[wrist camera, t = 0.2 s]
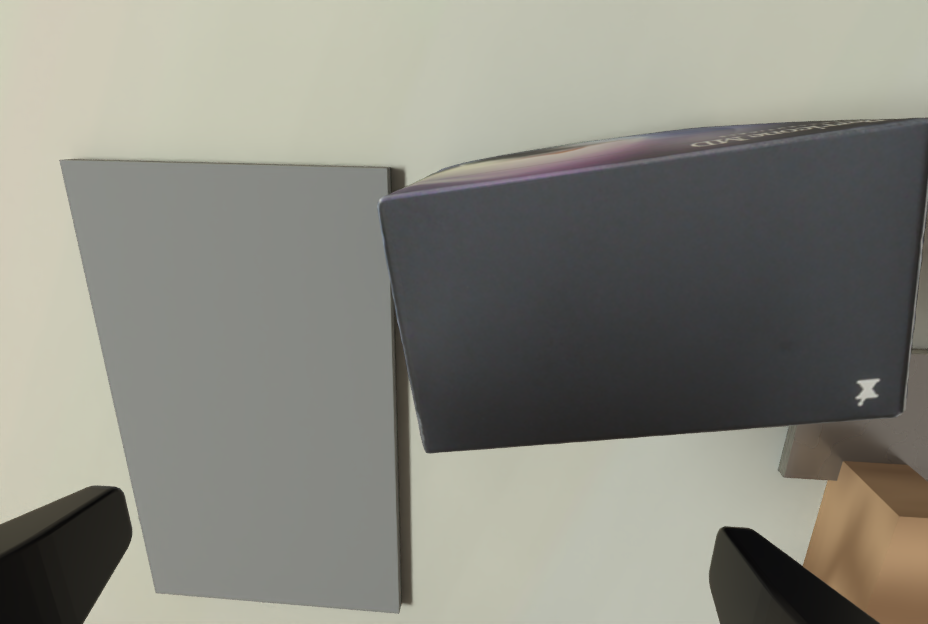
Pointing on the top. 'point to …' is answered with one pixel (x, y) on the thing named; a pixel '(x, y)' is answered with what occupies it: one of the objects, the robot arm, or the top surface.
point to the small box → (662, 283)
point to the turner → (871, 504)
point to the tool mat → (250, 373)
